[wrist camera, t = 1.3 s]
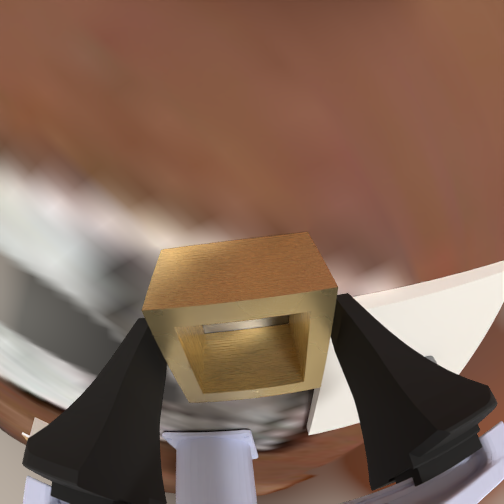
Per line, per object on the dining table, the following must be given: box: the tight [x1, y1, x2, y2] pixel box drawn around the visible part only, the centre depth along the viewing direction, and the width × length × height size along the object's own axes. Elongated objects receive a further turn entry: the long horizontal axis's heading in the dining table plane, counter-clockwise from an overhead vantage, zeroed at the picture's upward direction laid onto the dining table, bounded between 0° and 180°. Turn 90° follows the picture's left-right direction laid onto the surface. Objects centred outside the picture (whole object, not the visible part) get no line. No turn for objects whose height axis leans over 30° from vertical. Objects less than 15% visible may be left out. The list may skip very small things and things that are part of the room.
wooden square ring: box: [142, 232, 338, 403], centre depth 11 cm, size 6×6×4 cm
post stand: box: [307, 261, 504, 435], centre depth 15 cm, size 16×16×6 cm
